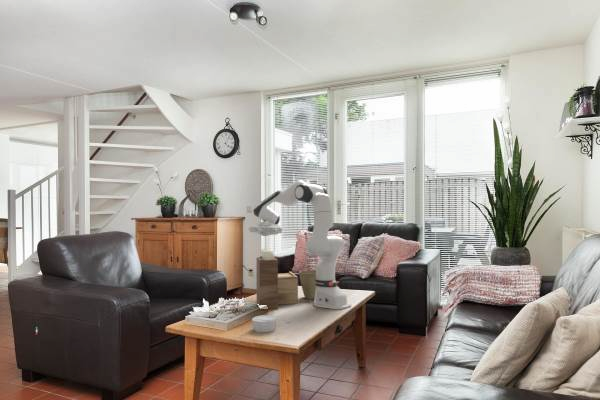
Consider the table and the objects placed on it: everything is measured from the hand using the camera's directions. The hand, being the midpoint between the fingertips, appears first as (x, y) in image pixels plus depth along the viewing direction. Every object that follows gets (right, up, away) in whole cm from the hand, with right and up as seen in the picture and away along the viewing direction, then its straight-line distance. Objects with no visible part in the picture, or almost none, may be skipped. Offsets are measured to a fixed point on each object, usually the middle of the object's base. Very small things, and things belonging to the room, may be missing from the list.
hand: (267, 230), depth 255 cm
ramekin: (+4, -41, -63) cm, 75 cm away
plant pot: (+27, -42, +4) cm, 50 cm away
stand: (+6, -42, -8) cm, 43 cm away
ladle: (0, -15, -15) cm, 21 cm away
